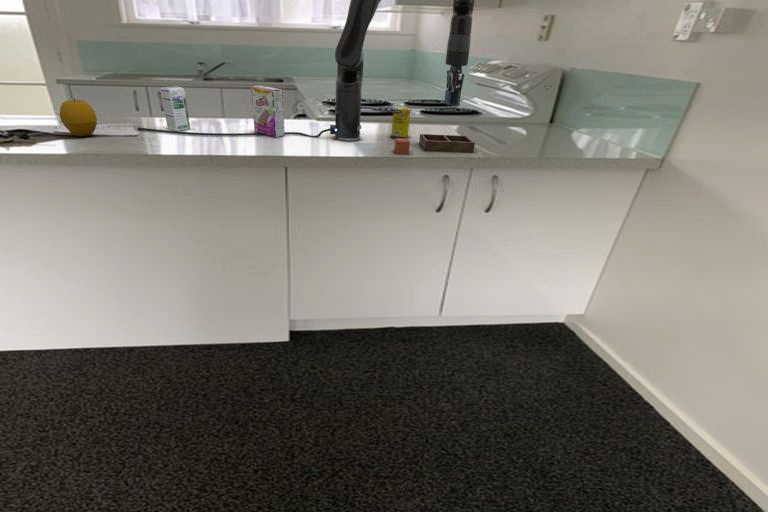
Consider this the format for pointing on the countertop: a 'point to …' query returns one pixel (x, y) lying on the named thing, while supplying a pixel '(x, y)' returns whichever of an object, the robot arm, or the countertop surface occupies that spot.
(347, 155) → the countertop surface
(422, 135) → the sorting tray
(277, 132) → the candy bar box
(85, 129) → the apple
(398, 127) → the supplement box
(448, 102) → the blue block
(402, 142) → the terracotta block
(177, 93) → the syrup box
